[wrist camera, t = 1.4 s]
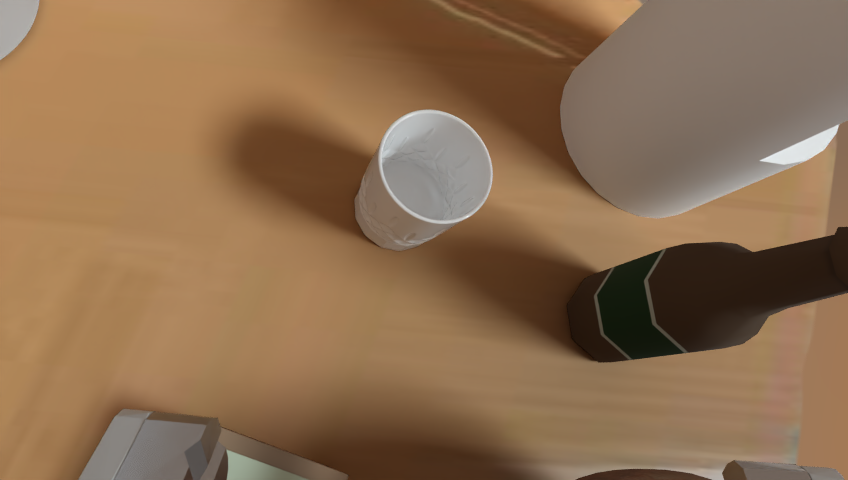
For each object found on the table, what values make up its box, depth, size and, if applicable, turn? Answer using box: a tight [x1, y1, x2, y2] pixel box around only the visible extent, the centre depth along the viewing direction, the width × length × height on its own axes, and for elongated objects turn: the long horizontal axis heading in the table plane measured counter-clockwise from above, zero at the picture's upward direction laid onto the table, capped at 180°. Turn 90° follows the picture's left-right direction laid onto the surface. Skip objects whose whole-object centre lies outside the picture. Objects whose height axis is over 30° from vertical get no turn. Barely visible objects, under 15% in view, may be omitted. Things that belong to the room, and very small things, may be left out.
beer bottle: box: [567, 227, 848, 362], centre depth 43 cm, size 8×8×24 cm
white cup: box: [354, 110, 493, 251], centre depth 46 cm, size 8×8×10 cm
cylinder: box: [560, 0, 848, 218], centre depth 48 cm, size 17×17×28 cm
